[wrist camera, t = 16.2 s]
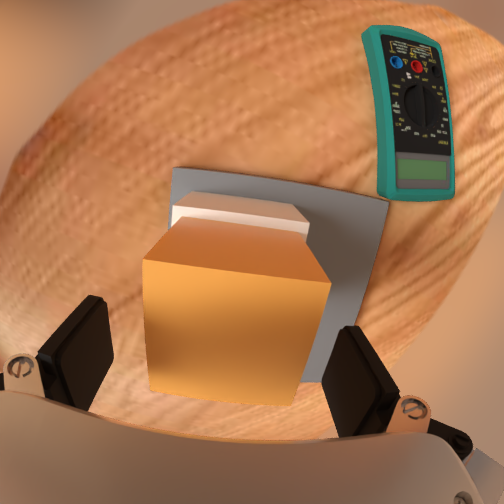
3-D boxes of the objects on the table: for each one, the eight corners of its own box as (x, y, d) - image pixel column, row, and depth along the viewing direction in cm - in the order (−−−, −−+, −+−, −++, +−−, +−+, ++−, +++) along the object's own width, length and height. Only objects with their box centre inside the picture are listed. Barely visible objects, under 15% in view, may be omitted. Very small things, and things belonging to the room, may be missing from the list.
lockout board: (327, 372, 27) (344, 423, 20) (170, 359, 26) (154, 412, 19) (380, 198, 21) (429, 219, 14) (178, 166, 20) (147, 173, 13)
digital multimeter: (426, 43, 16) (443, 35, 14) (440, 196, 21) (459, 202, 19) (356, 29, 16) (369, 15, 14) (373, 197, 21) (389, 204, 19)
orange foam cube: (277, 329, 16) (290, 405, 11) (176, 316, 16) (150, 390, 10) (298, 232, 14) (331, 283, 9) (181, 216, 14) (142, 259, 8)
